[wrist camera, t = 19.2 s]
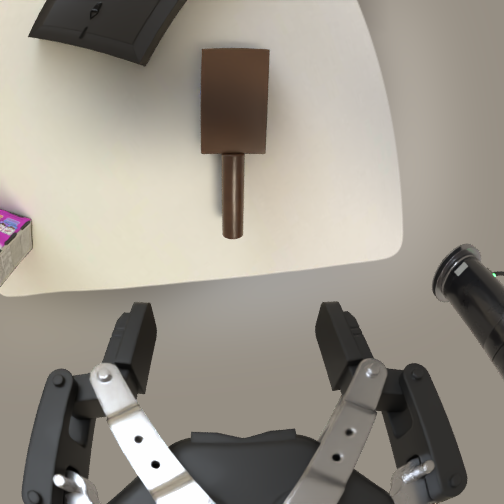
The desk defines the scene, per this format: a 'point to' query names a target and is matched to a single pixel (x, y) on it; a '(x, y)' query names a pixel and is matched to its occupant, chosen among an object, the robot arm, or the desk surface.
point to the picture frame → (108, 25)
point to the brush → (234, 120)
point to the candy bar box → (13, 242)
